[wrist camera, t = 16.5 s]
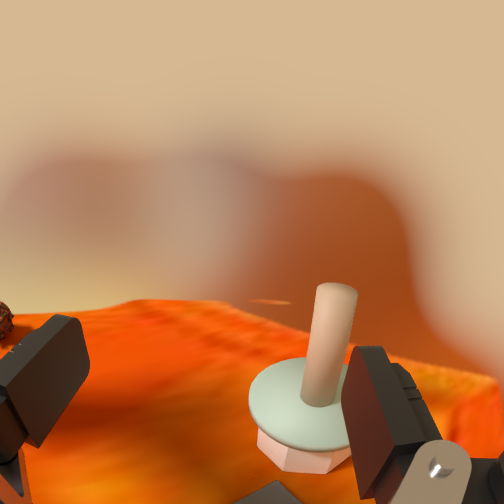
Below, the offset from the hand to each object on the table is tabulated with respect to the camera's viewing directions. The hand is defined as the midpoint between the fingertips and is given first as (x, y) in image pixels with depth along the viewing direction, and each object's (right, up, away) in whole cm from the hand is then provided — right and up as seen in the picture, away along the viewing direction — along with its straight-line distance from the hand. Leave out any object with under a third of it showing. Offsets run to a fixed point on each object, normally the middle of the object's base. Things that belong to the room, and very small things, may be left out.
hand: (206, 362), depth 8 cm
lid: (+8, -13, +22) cm, 26 cm away
